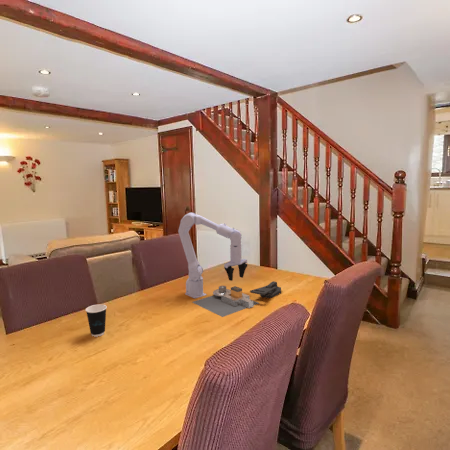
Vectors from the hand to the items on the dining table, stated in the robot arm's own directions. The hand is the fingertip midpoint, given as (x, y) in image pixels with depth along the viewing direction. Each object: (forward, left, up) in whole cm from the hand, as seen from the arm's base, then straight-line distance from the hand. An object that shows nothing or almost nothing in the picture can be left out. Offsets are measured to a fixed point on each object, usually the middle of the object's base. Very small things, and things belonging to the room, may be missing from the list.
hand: (236, 278), depth 169 cm
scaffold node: (+4, -6, -9) cm, 12 cm away
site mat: (+4, -11, -9) cm, 15 cm away
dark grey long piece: (+12, +11, -10) cm, 19 cm away
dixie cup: (-6, -70, -10) cm, 71 cm away
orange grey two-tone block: (+7, -6, -9) cm, 13 cm away
